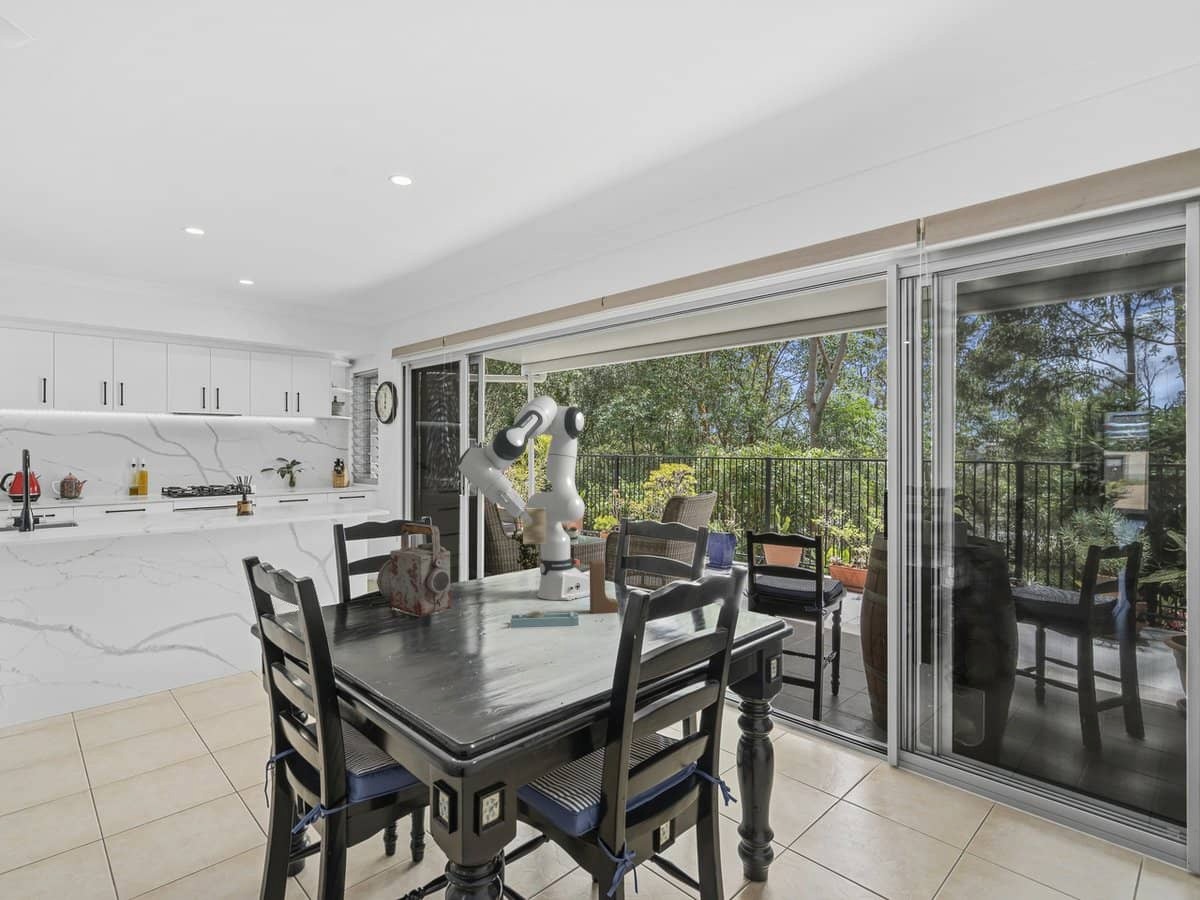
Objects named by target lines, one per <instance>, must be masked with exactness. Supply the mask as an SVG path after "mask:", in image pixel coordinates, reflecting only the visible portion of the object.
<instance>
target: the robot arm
mask: <svg viewBox="0 0 1200 900" xmlns="http://www.w3.org/2000/svg"><path fill="white" fill-rule="evenodd" d="M585 421H586V419H585V414H584V412H583V410H581V408H578V407H574V406H564V405H563V406H562V405H557V402H556V401H555V400H554V399H553V398H552V397H550V396H548V395H539V396H537V397H535V398H534V399H532V400H531V401H528V403H526V404H525V406H523V407H522V408H521V409H520V411H519V412H518V414H517V415H516V417H515V418H514V422H513V425H511V426H507V427H503V428H502V429H500V430H498V432H497V433H496V435H495V436H494V438H492V440H491V441H490V443H488V445H487V446H482V447H473V446H470V447H468V448H467V449H466V450H465V451H464V453H463V454H462V455H461V457H460V458H459V459H458V462H457V468H458V469H459V472H460V473H461V474H462V475H463V476H464V478H466V479H467V480H468V481H469V483H471V484H472V485H473V486H474V487H476V488H478V489H479V491H480V493H481V494H482V495H483V496H484V497H485V498H486V499H487V500H488V501H489V503H491V504H492V505H495V504H496V503H497V504H498V505H499V506H501V507H503V508H504V509H505V511H507V513H508V514H510V515H511V517H513V518H515V519H517V518H518V517H520V518H521V520H522V521H523V520H525V521H526V522H527V523H528V524H530V523H531V522H532V521H533V519H532V518H531V517H530V516H529V515H528V514H527V513H526V512H525V511H524V508H545V513H546V544H540V555H541V557H540V559H539V560H540V561H539V569H540V570H539V571H540V573H539V574H540V580H539V588H538V591H537V597H538V598H540V599H543V600H550V601H551V600H555V601H565V600H566V601H567V600H568V601H571V600H572V599H573V600H576V599H575V598H577V599H581V598H584V597H585V596H586V597H590V578H589V577H588V576H587V575H586V574H585V573H583V572H582V571H580V570H579V569H578V568H577V567H576V566H575V565H577V566H579V564H580V562H581V561H580V559H577V558H572V556H571V537H570V535H569V534H568V533H567V532H566V531H565V530H564V527H563V525H562V523H564V524H571V523H575V522H576V523H577V522H579V521H580V520H581V519H582V518H583V517H584V514H585V511H586V506H585V502H584V500H583V498H582V497H581V496H580V495H579V493H578V490H577V487H576V479H575V478H576V477H575V476H576V466H577V456H578V437H579V435H580V434H581V433H582V431H583V430H584V427H585V424H586V423H585ZM540 435H545V436H551V439H550V443H549V447H548V451H547V459H546V467H545V477H546V478H547V479H548V480H549V481H550V484H551V488H552V492H549V491H548V492H547V491H541V492H538V493H533V494H532V495H531V496H530V497H529V498H528V500H527V505H526V502H525V501H524V499H522V497H521V496H520V495H519V494H518V493H517V491H516V490H515V489H514V488H513V486H514V483H513V482H512V481H511V480H510V479H509V478H508V477H507V476H506V475H505V474H503V473H505V472H506V471H507V470H508V469H509V468H510V466H511V465H513V463H515V461H516V460H517V459H518V458H520V457H521V456H522V455H523V454H524V453H525V451H526V450H527V445H528V439H533V440H534V439H536V438H537V437H539V436H540Z"/></svg>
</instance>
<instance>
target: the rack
mask: <svg viewBox="0 0 1200 900" xmlns="http://www.w3.org/2000/svg"><path fill="white" fill-rule="evenodd" d="M578 613H579V612H574V611H569V612H562V613H561V612H560V613H558V612H556V613H551V612H550V613H543V618H524V617H526V613H524V614H523V613H519V614H511V618H510V622H509V627H508V630H533V629H534V630H535V629H537V630H538V629H562V628H563V629H567V628H574V629H575V628H581V621H580V618H579V614H578Z"/></svg>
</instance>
